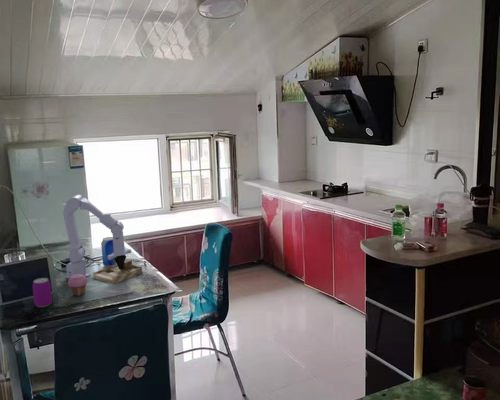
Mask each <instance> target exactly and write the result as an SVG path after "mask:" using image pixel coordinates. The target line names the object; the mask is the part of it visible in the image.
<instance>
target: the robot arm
mask: <svg viewBox="0 0 500 400" xmlns="http://www.w3.org/2000/svg"><path fill="white" fill-rule="evenodd" d="M78 209H79V210H82V211H83V210H85V211H88V212H89V213H91V214H92V215H94V216H95V217H96V218H98V221H99V222H100V223H101V224H102V225H103V226H105V227H106V228H108V230H110V232H111V235H112V237H113V248H114V253H112V254H111V255H108V256H107V258H108V260H111V259H114V260H115V261H116V263H117V265H118V268H119V269H123V265H124V261H125V259H127V256H126V255H127V254H132V249H130V248H128V249H126V248H125V239H124V238H125V237H124V231H123V230H124V224H123V222H122V221H119V220H117V219H116V218H114V217H113V216H112V214H110V213H107V212H105V213H104V212H102V211H101V210H100V209H98V208H97V207H96V206H95V205H94V204H93V203H92V202H90V200H89V199H87V198H86V197H84V196H83V195H82V194H75V195H73V197H70V198H69V199H68V200H67V201H66V203H65V207H64V208H63V212H62V214H63V220H64V224H65V227H66V228H65V229H66V232H67V237H68V240H69V255H68V258H69V260H70V261H69V263H67V264H66V265H65V266H66V267H65V269H66V278H67V279H69V278H70V277H71V276H73V275H77V274H82V275H83V276H85V277H86V278H87V277H89V276H91V274H90V273H87V268H86V267H87V266H86V258H85V257H84V256H85V255H86V250H85V248H84V246H83V244H82V242H81V241H80V236H79V231H78V227H77V222H76V218H75V217H76V216H75V213H76V211H78Z"/></svg>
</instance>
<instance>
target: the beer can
mask: <svg viewBox="0 0 500 400" xmlns="http://www.w3.org/2000/svg"><path fill="white" fill-rule="evenodd" d="M112 253H114V248H113V236H109V237H108V236H107V237H103V238H102V240H101V257H102V264H103V266H104V267H105V268H108V267H111V266H114V265H116V261H115V260H114V259H111V260H108V258H107V256H108V255H111V254H112Z"/></svg>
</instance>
